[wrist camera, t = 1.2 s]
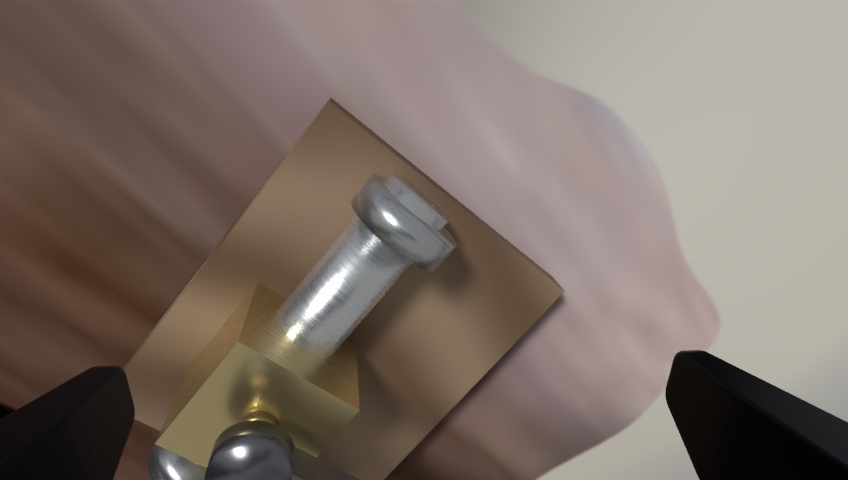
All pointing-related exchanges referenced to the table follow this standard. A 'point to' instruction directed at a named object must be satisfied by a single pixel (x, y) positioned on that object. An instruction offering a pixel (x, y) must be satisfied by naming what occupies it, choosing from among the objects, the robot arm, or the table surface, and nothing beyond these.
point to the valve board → (393, 332)
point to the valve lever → (265, 456)
